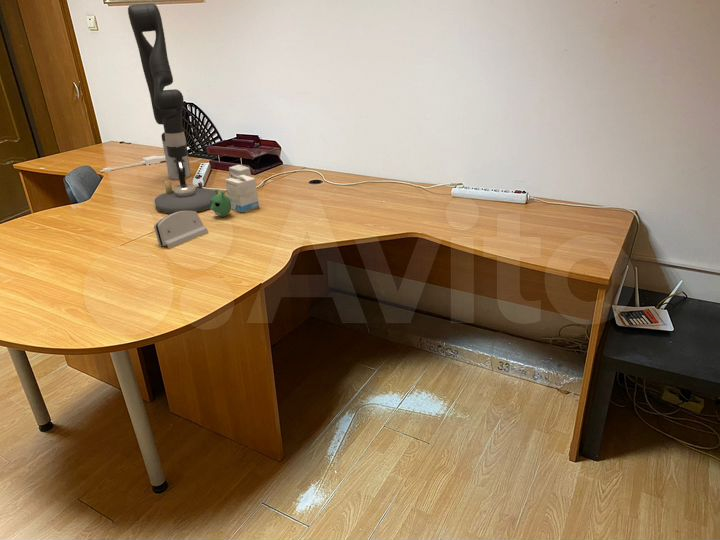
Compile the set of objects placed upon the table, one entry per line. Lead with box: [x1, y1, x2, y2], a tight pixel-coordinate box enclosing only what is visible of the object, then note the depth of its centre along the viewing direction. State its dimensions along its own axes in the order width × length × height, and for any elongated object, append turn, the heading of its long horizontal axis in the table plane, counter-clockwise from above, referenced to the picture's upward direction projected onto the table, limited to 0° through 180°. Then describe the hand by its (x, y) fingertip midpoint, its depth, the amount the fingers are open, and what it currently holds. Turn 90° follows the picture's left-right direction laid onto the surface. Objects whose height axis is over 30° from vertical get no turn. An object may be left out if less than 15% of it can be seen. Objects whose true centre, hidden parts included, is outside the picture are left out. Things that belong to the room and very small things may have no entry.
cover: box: [173, 183, 196, 197], centre depth 200 cm, size 8×8×3 cm
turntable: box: [153, 179, 217, 215], centre depth 197 cm, size 24×24×8 cm
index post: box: [197, 182, 204, 189], centre depth 211 cm, size 2×2×4 cm
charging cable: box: [99, 154, 166, 173], centre depth 253 cm, size 5×32×3 cm, turn 130°
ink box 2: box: [225, 174, 260, 214], centre depth 192 cm, size 9×8×13 cm
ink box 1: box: [228, 164, 252, 178], centre depth 206 cm, size 9×5×12 cm, turn 47°
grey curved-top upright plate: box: [153, 211, 209, 250], centre depth 166 cm, size 17×5×10 cm, turn 147°
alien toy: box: [209, 189, 232, 218], centre depth 184 cm, size 7×8×10 cm
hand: (183, 186), depth 205 cm, fingers closed
